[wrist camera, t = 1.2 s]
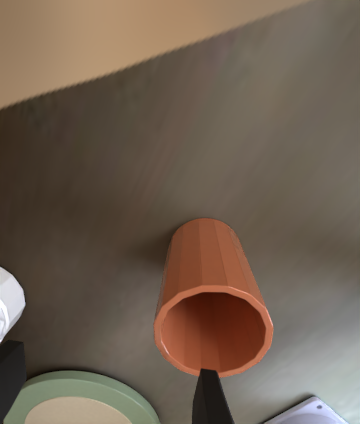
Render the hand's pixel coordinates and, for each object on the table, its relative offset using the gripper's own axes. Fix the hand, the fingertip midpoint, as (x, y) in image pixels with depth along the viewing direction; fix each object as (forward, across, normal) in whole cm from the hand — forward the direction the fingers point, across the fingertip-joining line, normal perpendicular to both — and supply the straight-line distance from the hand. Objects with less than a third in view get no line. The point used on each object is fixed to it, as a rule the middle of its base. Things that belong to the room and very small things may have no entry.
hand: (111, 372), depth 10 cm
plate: (+10, +5, +21) cm, 24 cm away
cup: (+10, -4, -1) cm, 11 cm away
